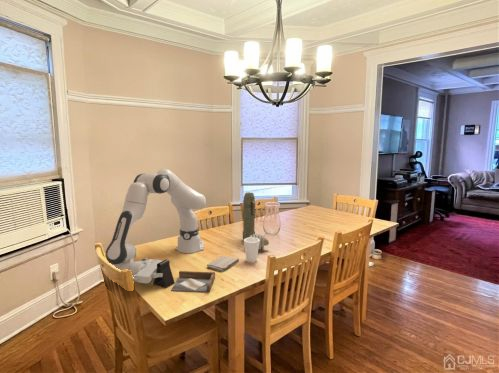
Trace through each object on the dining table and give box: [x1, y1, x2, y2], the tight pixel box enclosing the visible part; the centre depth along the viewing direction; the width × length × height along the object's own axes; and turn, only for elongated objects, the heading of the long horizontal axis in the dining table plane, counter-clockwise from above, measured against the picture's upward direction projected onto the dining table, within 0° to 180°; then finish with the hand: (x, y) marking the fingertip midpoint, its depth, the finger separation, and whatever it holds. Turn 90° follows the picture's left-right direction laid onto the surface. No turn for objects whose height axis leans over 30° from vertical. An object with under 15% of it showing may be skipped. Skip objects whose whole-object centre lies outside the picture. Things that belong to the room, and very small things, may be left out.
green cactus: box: [242, 192, 256, 242], centre depth 224 cm, size 9×12×35 cm
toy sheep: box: [242, 233, 270, 252], centre depth 208 cm, size 11×17×11 cm, turn 95°
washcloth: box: [206, 255, 240, 273], centre depth 186 cm, size 12×18×3 cm, turn 152°
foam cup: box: [243, 237, 260, 263], centre depth 192 cm, size 10×9×13 cm
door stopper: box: [153, 258, 176, 289], centre depth 161 cm, size 9×6×12 cm, turn 61°
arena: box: [170, 270, 216, 294], centre depth 161 cm, size 15×19×4 cm
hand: (165, 271), depth 161 cm, fingers closed on door stopper, 6 cm apart
